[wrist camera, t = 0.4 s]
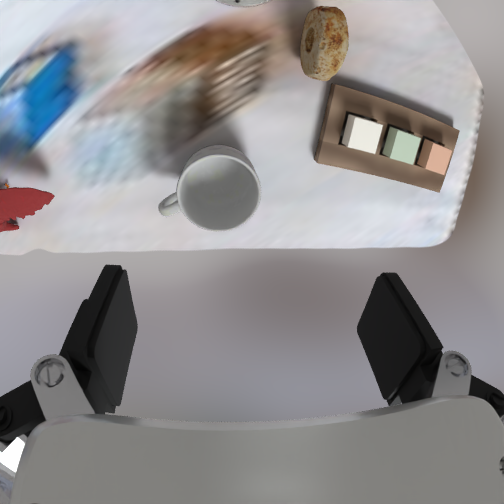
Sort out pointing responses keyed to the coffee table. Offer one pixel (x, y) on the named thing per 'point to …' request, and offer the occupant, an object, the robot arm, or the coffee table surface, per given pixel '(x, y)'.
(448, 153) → the tile terracotta
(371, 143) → the tile cream
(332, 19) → the bagel
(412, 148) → the tile sage
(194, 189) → the teacup
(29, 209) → the decorative bird sculpture
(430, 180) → the brown tile tray
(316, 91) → the coffee table surface
